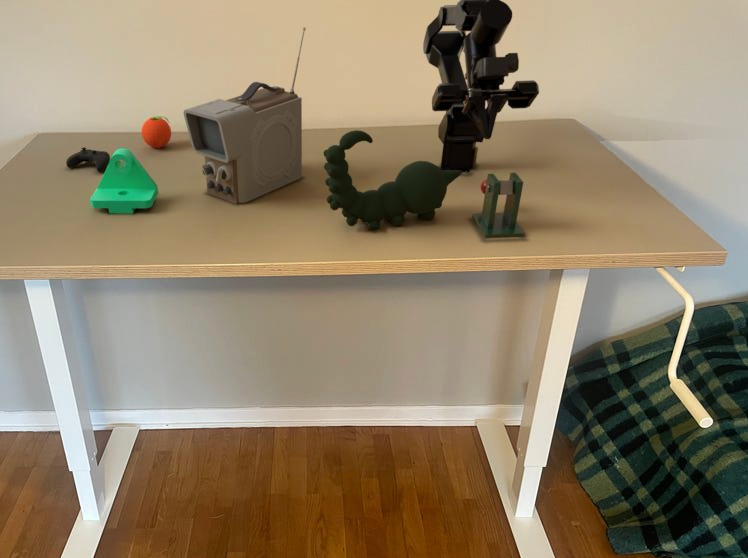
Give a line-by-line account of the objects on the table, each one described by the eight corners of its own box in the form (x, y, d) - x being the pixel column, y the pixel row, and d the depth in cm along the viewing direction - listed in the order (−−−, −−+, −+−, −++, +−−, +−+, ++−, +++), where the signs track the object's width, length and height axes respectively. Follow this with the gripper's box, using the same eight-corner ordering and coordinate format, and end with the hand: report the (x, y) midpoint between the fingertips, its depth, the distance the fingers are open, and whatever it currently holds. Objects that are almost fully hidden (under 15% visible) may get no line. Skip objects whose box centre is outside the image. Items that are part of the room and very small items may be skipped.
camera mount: (91, 213, 144) (81, 162, 138) (101, 197, 150) (92, 148, 144) (151, 213, 143) (144, 162, 137) (158, 197, 149) (152, 148, 143)
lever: (478, 195, 139) (478, 179, 138) (494, 194, 139) (494, 178, 138) (497, 196, 128) (498, 179, 127) (514, 196, 128) (515, 178, 127)
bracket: (471, 219, 137) (478, 169, 131) (508, 218, 137) (517, 167, 131) (484, 241, 130) (492, 188, 124) (523, 239, 130) (533, 186, 124)
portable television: (189, 197, 149) (174, 40, 131) (269, 164, 163) (265, 18, 145) (230, 213, 142) (220, 49, 125) (310, 177, 156) (311, 25, 139)
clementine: (160, 139, 179) (157, 109, 175) (181, 144, 175) (178, 114, 171) (137, 148, 173) (133, 118, 169) (158, 154, 170) (155, 123, 166)
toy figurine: (335, 246, 133) (469, 224, 134) (328, 145, 122) (474, 121, 123) (325, 224, 140) (452, 203, 142) (318, 127, 129) (455, 105, 131)
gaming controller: (63, 165, 163) (70, 140, 164) (75, 175, 168) (83, 151, 169) (100, 170, 160) (107, 144, 160) (112, 180, 165) (119, 156, 166)
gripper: (442, 37, 131) (449, 119, 128) (545, 34, 131) (554, 115, 128) (428, 71, 142) (434, 147, 139) (524, 68, 142) (532, 144, 139)
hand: (488, 138), depth 136 cm, fingers closed
